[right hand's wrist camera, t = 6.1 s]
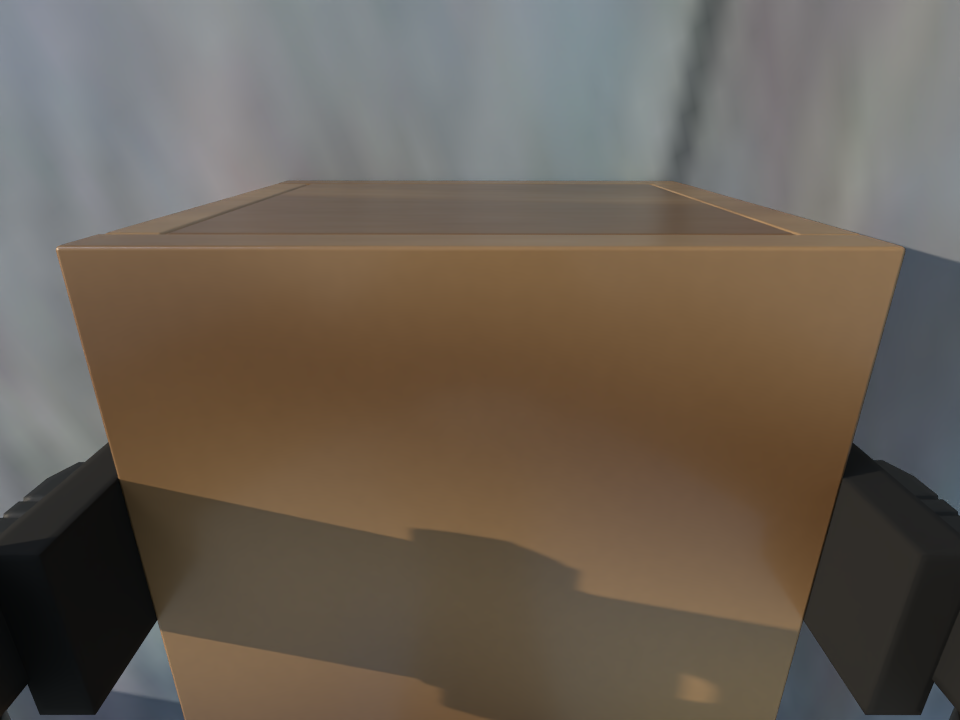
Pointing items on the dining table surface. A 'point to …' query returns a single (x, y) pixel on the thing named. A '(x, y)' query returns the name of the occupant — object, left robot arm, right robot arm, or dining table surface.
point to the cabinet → (480, 442)
